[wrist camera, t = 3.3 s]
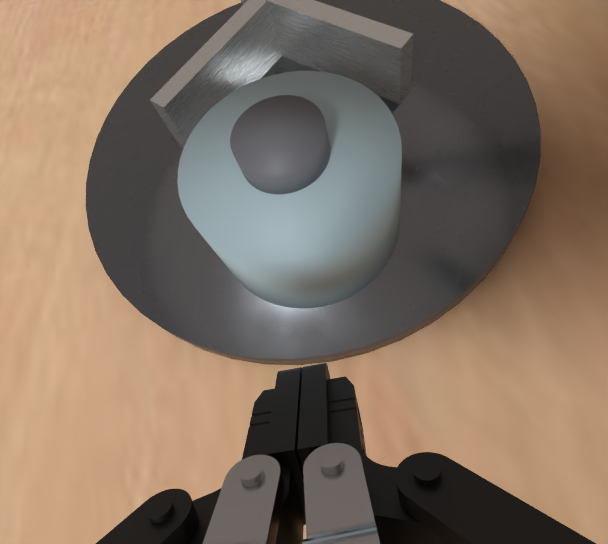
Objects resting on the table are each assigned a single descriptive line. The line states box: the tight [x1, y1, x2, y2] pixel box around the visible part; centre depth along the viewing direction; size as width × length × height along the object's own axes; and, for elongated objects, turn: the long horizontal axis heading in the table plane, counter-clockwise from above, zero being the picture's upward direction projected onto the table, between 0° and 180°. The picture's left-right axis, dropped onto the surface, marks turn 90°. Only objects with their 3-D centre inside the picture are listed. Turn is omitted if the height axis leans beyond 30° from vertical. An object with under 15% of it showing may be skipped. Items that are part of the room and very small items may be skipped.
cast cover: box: [177, 71, 402, 309], centre depth 22 cm, size 10×10×8 cm
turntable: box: [86, 0, 540, 365], centre depth 27 cm, size 28×28×6 cm
